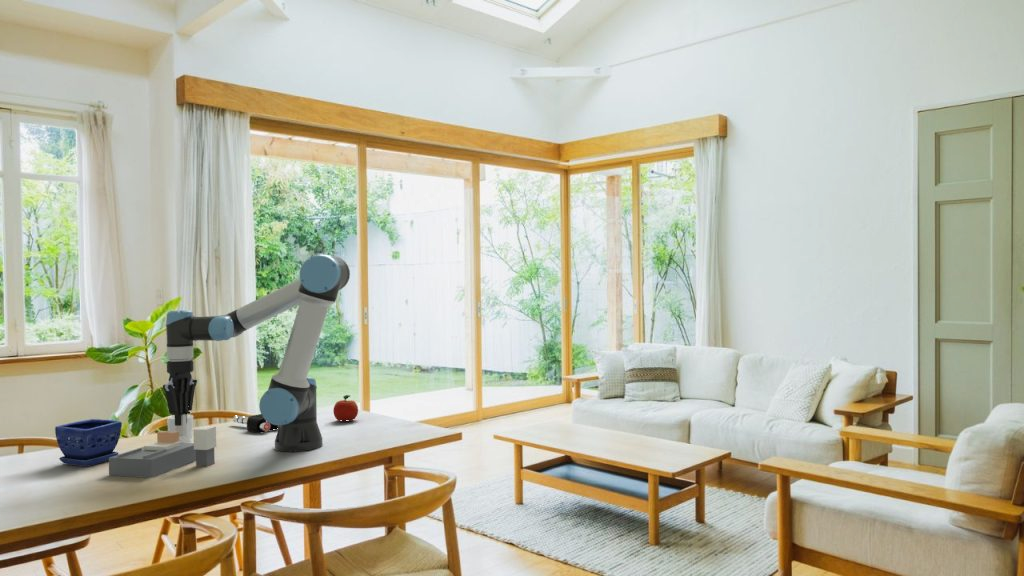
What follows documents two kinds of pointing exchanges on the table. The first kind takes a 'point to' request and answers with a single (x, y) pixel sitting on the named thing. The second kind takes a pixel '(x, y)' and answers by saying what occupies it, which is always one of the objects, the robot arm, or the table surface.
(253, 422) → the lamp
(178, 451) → the socket
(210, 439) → the plug
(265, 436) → the table surface
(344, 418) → the fruit
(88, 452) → the flower pot
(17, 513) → the table surface
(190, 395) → the robot arm
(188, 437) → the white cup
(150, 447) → the tan and grey block
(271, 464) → the table surface
